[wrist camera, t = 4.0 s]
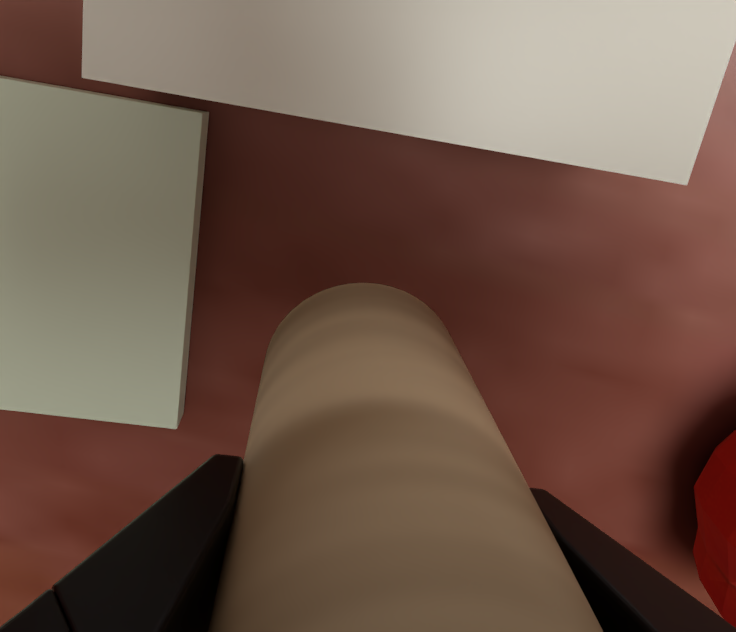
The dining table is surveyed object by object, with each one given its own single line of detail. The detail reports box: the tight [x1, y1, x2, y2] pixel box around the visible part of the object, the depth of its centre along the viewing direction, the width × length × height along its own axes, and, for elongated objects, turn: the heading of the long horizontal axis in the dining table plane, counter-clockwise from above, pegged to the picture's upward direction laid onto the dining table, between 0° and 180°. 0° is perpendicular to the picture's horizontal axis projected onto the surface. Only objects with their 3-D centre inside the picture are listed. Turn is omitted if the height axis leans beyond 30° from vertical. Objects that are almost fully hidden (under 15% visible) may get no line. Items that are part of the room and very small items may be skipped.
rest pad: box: [0, 75, 209, 429], centre depth 17 cm, size 9×9×1 cm
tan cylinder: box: [208, 283, 603, 632], centre depth 8 cm, size 4×4×10 cm
